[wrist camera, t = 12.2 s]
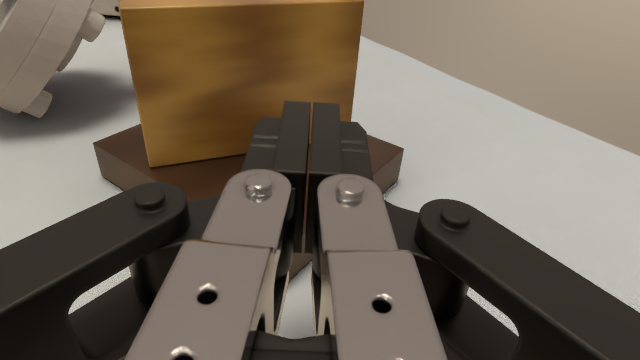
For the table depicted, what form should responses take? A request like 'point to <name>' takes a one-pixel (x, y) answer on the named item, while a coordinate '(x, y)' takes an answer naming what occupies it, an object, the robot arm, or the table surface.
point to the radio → (106, 7)
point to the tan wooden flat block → (234, 68)
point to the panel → (215, 171)
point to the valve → (40, 47)
